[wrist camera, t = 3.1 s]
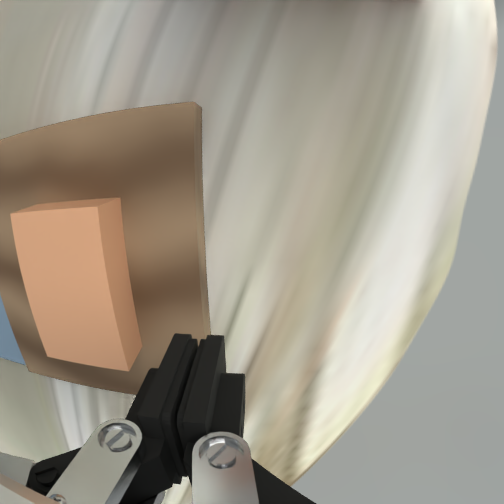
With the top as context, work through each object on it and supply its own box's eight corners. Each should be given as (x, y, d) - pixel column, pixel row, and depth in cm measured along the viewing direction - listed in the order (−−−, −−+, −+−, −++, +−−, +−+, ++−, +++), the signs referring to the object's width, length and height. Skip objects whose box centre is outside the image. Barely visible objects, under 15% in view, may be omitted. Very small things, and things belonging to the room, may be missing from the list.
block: (36, 204, 15) (10, 213, 12) (120, 197, 15) (97, 206, 12) (65, 336, 18) (47, 356, 15) (142, 346, 17) (129, 371, 15)
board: (-5, 145, 15) (-23, 147, 13) (201, 107, 15) (193, 101, 13) (40, 358, 21) (28, 371, 19) (215, 383, 21) (211, 402, 19)
